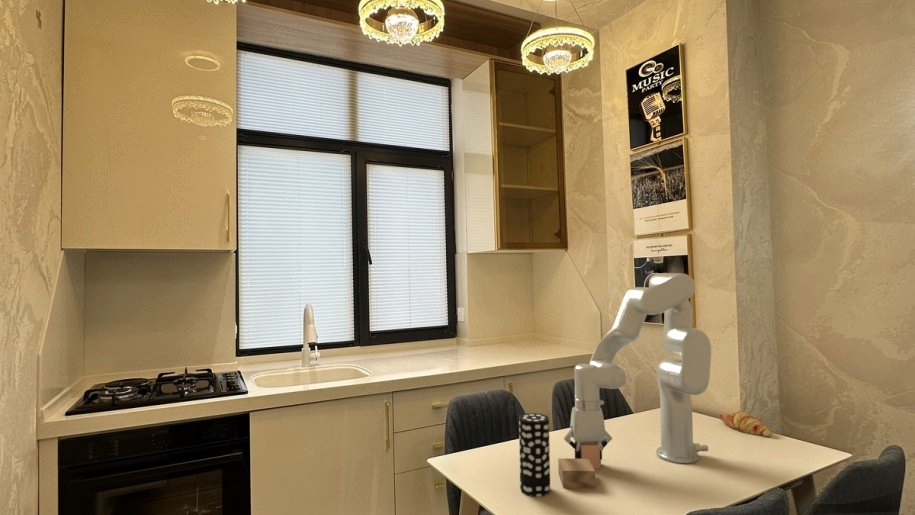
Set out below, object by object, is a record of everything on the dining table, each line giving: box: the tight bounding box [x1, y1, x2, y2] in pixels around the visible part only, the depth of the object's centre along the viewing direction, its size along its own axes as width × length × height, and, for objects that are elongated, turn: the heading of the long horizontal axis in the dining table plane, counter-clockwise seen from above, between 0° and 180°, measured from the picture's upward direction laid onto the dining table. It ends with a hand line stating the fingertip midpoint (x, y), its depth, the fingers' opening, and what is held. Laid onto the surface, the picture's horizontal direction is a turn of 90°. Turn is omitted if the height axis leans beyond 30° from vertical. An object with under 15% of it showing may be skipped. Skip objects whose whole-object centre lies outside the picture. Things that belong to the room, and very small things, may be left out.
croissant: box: [719, 410, 773, 437], centre depth 184 cm, size 21×10×8 cm, turn 22°
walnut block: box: [557, 457, 597, 489], centre depth 140 cm, size 9×9×5 cm
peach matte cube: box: [580, 442, 601, 470], centre depth 152 cm, size 6×6×7 cm
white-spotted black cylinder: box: [518, 412, 551, 498], centre depth 135 cm, size 8×8×20 cm
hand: (588, 461), depth 151 cm, fingers closed on peach matte cube, 5 cm apart
